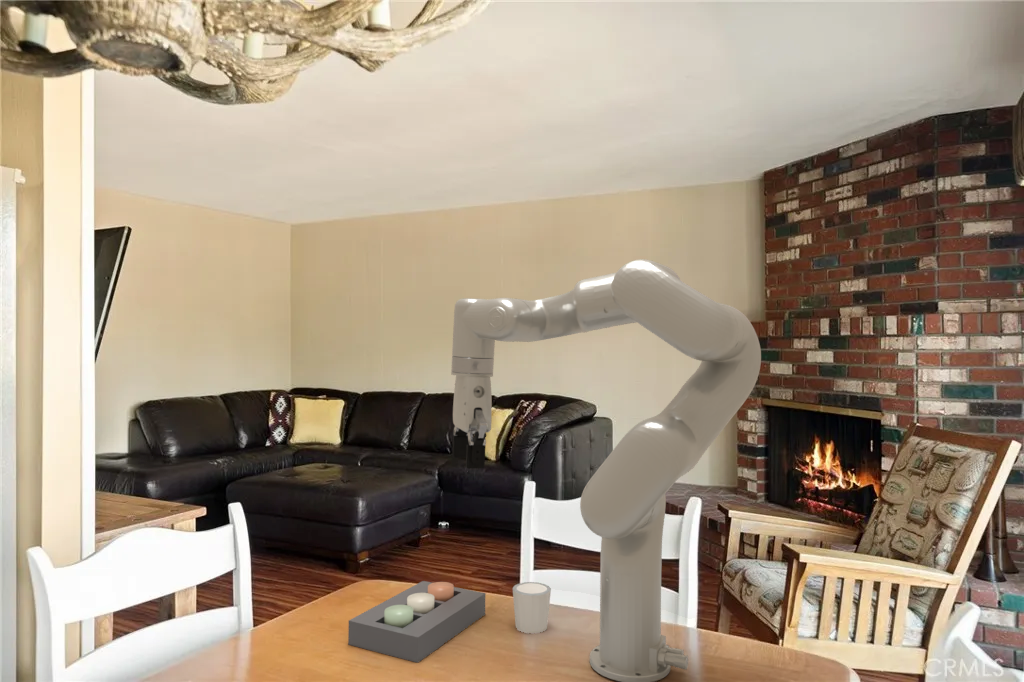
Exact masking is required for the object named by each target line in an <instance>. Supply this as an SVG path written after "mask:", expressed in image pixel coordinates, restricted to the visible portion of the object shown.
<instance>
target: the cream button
mask: <svg viewBox="0 0 1024 682" xmlns="http://www.w3.org/2000/svg"><path fill="white" fill-rule="evenodd" d="M407 605H408V606H411V607H412V608H413V612H416V613H420V614H427V613H428V612H430V611H432V610H433V609H434V595H432V594H429V593H415V594H411V595H409V596H408V597H407Z"/></svg>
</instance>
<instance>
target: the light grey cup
mask: <svg viewBox="0 0 1024 682" xmlns="http://www.w3.org/2000/svg"><path fill="white" fill-rule="evenodd" d="M551 591H552V588H551V587H550V586H549V585H547V584H545V583H542V582H534V581H527V582H526V581H525V582H520V583H517V584H515V585H513V587H512V596H513V610H514V623H515V624H514V625H515V629H516V628H517V629H516V630H517V631H519V632H520V631H521V632H520V633H523V632H524V634H529V633H531V634H534V633H535V634H541V633H543V631H544V632H545V631H547V629H548V622H549V612H550V603H551V601H550V600H551ZM540 632H541V633H540ZM531 634H530V635H531Z"/></svg>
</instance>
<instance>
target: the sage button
mask: <svg viewBox="0 0 1024 682" xmlns="http://www.w3.org/2000/svg"><path fill="white" fill-rule="evenodd" d="M412 622H413V608H412V607H411V606H408V605H393V606H390V607H388V608H386V609H385V611H384V624H387V625H391V626H395V627H399V628H404V627H406V626H407V625H409V624H410V623H412Z"/></svg>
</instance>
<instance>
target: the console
mask: <svg viewBox="0 0 1024 682" xmlns="http://www.w3.org/2000/svg"><path fill="white" fill-rule="evenodd" d="M431 583H432V581H431V582H430V581H425V580H422V581H420V582H418V583H416V584H414V585H413V586H410V587H409V588H407V589H405V590H404V591H401V592H400V593H397V594H396V595H394V596H392V597H390V598H388V599H386V600H385V601H383V602H380V603H378V604H377V605H375V606H373V607H371V608H370V609H367V610H366V611H364V612H363V613H362V612H361V614H358V615H356V616H355V617H352V618H350V619H349V620H348V631H347V632H348V641H347V642H348V646H353V647H357V648H360V649H364V650H367V651H372V652H375V653H379V654H383V655H386V656H389V657H390V656H391V657H395V658H399V659H402V660H406V661H410V662H413V663H417V664H418V663H420V661H422V660H424V659H425V658H427V657H428V656H430V655H431V654H432V653H433V652H435V651H436V650H438V649H439V648H441V647H442V646H443V645H445V644H446V643H448V642H449V641H450V640H452V639H453V638H454V636H455V635H456V636H457V635H459V634H460V633H461V631H462V632H463V631H464V630H465V628H466V629H467V628H468V626H469V625H470V626H472V623H473V622H474V623H476V622H477V621H478V620H480V619H481V618H482V616H483V617H484V616H486V593H485V592H480V591H476V590H473V589H466V588H462V587H461V588H460V587H455V586H454V597H453V598H451V599H450V600H448V601H446V602H443V601H438V600H434V609H433V610H432V611H430V612H428V613H427V614H420V613H416V612H413V622H412V623H410V624H409V625H407V626H406V627H404V628H399V627H395V626H391V625H387V624H384V611H385V609H386V608H388V607H390V606H393V605H407V597H408V596H409V595H411V594H415V593H428V585H429V584H431ZM479 618H480V619H479ZM476 620H477V621H476ZM475 621H476V622H475ZM474 623H473V624H474ZM470 626H469V627H470ZM458 633H459V634H458ZM456 636H455V637H456ZM451 638H452V639H451ZM448 640H449V641H448ZM447 641H448V642H447ZM445 642H446V643H445ZM444 643H445V644H444Z"/></svg>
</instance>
